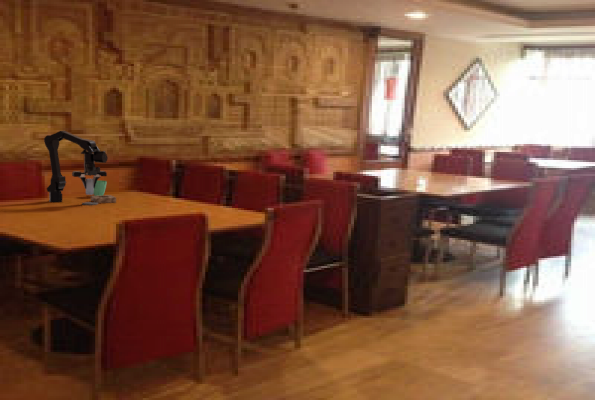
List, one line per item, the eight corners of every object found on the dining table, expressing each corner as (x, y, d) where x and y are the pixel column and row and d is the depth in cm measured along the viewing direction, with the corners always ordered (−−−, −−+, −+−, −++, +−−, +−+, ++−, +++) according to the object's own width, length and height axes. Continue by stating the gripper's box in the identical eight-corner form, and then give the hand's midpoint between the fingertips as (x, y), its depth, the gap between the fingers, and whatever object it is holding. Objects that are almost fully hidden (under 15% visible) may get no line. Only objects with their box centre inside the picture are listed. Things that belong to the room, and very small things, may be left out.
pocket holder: (95, 203, 375) (95, 198, 375) (90, 200, 385) (90, 195, 385) (116, 202, 381) (116, 197, 381) (110, 199, 391) (110, 195, 391)
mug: (106, 197, 400) (106, 182, 399) (89, 197, 398) (89, 182, 397) (108, 194, 414) (107, 179, 413) (92, 194, 412) (92, 179, 411)
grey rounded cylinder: (86, 194, 367) (86, 179, 366) (84, 193, 371) (84, 178, 370) (94, 194, 370) (94, 179, 369) (92, 193, 373) (92, 178, 372)
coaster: (84, 205, 365) (84, 204, 365) (80, 203, 373) (80, 202, 373) (99, 204, 370) (99, 203, 370) (95, 202, 377) (95, 201, 377)
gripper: (76, 163, 356) (76, 190, 358) (109, 162, 366) (109, 189, 368) (71, 161, 366) (71, 188, 368) (104, 161, 375) (104, 187, 378)
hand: (89, 188), depth 370 cm, fingers closed on grey rounded cylinder, 4 cm apart
